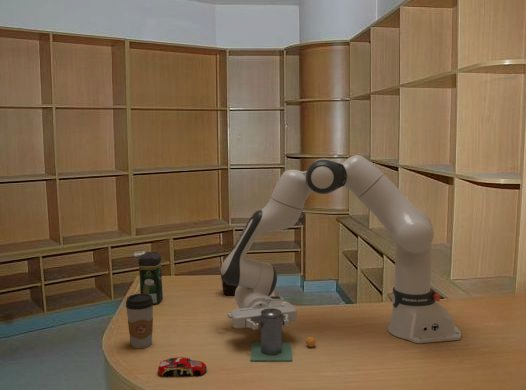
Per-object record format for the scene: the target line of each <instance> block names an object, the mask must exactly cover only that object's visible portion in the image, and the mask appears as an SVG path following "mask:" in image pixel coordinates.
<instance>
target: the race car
mask: <svg viewBox="0 0 526 390" xmlns="http://www.w3.org/2000/svg"><path fill="white" fill-rule="evenodd" d="M207 367H208V366H207V364H206V363H205V362H203V361H200V360H193V359H190V358H188V357H185V356H184V357H183V356H181V357H179V356H177V357H171V358H167V359H164V360H161V361H160V362H159V365H158V368H157V374H158V375H159V376H162V377H166V378H171V377H189V376H190V377H193V376H194V377H200V376H203V375H204V374H205V373H206V372H207V371H208V369H207Z"/></svg>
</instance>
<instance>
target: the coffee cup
mask: <svg viewBox="0 0 526 390" xmlns="http://www.w3.org/2000/svg"><path fill="white" fill-rule="evenodd" d="M154 305H155V304H154V303H153V299H152V296H151V295H149V294H140V293H134V294H132V295H129V296H128V297H127V299H126V300H125V308H126V315H127V316H126V317H127V326H128V335H129V340H130V345H131V347H133V348H135V349H143V348H144V349H145V348H147V347H150V346H151V345H152V342H153V331H154V329H153V327H154V326H153V325H154V317H153V315H154V313H153V312H154Z"/></svg>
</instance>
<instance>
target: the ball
mask: <svg viewBox="0 0 526 390" xmlns="http://www.w3.org/2000/svg"><path fill="white" fill-rule="evenodd" d="M316 342H317V340H316V338H314V337H313V336H308V337H307V338H306V339H305V345H306V346H307V347H308V348H309V347H310V348H313V347H314V346H316Z"/></svg>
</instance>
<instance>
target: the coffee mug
mask: <svg viewBox="0 0 526 390" xmlns="http://www.w3.org/2000/svg"><path fill="white" fill-rule="evenodd" d="M219 271H221V268H220V269H219ZM220 279H221V286H222V295H223V296H224V295H225V296H224V297H227V296H235V291H236V288H237V287H238V286H234V285H227V284H226V283H225V281H224V280H223V278H222V276H221V275H220Z"/></svg>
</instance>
